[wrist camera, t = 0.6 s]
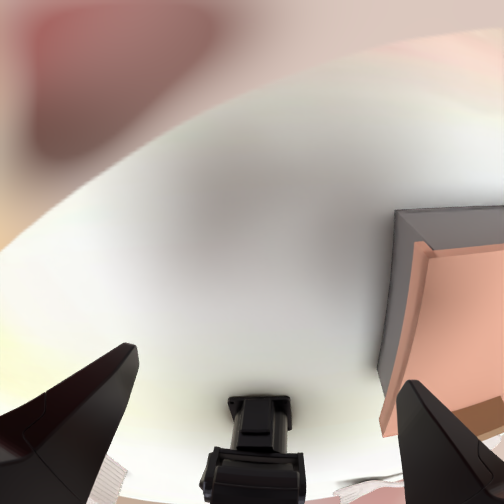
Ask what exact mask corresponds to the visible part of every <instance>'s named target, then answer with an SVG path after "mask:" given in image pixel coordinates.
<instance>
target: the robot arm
mask: <svg viewBox="0 0 504 504" xmlns="http://www.w3.org/2000/svg"><path fill="white" fill-rule="evenodd" d="M138 369H139V358H138V351H137V347H136V345H134V344H130V343H122V344H121V345H119V346H118V347H116V348H114V349H113V350H111V351H110V352H108V353H106V354H105V355H103V356H102V357H100V358H99V359H97V360H95V361H94V362H92V363H91V364H89V365H87V366H86V367H84V368H83V369H81V370H79V371H78V372H76V373H75V374H73V375H71V376H70V377H68V378H67V379H65V380H63V381H62V382H60V383H59V384H57V385H55V386H54V387H52V388H51V389H49V390H47V391H46V393H45V392H44V393H42V394H41V395H39V396H38V397H36V398H34V399H33V400H31V401H29V402H27V403H26V404H24V405H22V406H20V407H18V408H16V409H14V410H12V411H10V412H8V413H5V414H3V415H1V416H0V504H86V503H87V501H88V498H89V495H90V493H91V490H92V488H93V485H94V483H95V480H96V478H97V475H98V473H99V470H100V468H101V466H102V463H103V461H104V458H105V456H106V454H107V451H108V449H109V446H110V444H111V442H112V439H113V437H114V435H115V432H116V430H117V428H118V426H119V423H120V421H121V419H122V416H123V414H124V412H125V409H126V407H127V404H128V401H129V398H130V395H131V391H132V388H133V385H134V382H135V378H136V375H137V372H138ZM228 405H229V408H230V411H231V415H232V418H233V421H234V428H233V434H232V441H231V447H230V449H224V448H220V447H214V451H213V452H212V453H209V456H208V461H207V465H206V468H205V471H204V473H203V475H202V478H201V480H200V483H199V487H200V488H201V489H202V490H203V494H204V500H205V502H209V503H210V504H304V503H305V497H306V476H305V466H304V457H303V453H287V431H290V430H292V418H291V404H290V398H289V397H286V396H284V397H248V398H234V397H232V398H229V399H228ZM396 410H397V428H398V441H399V448H400V455H401V462H402V470H403V479H404V488H405V499H406V504H504V462H503V461H502V460H501V459H500V458H499V457H498V456H497V455H495V454H494V453H493V452H492V451H491V450H490V449H489V448H488V447H487V446H486V445H485V444H484V443H483V442H482V441H481V440H480V439H478V437H477V436H476V435H475V434H474V433H473V432H471V431H470V430H469V429H468V428H467V427H466V426H465V425H464V424H463V423H462V422H461V421H460V420H459V419H458V418H457V417H456V416H455V415H454V414H453V413H452V412H451V411H450V410H449V409H448V408H447V407H446V406H445V405H444V404H443V403H442V402H441V401H440V400H439V399H438V398H437V397H436V396H434V395H433V394H432V393H431V392H430V391H429V390H428V389H427V388H426V387H425V386H424V385H423V384H422V383H421V382H420V381H419V380H407V381H406V382H405V383H404V385H403V386H402V388H401V390H400V391H399V393H398V394H397V397H396Z"/></svg>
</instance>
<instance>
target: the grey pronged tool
mask: <svg viewBox="0 0 504 504" xmlns="http://www.w3.org/2000/svg"><path fill="white" fill-rule="evenodd" d="M500 441H501V436H500V435H496V436H494V437H492V438H489V439H487V440H484V441H482V442H483V443H484V444H485V445H486V446H487V447H488V448H489V449H490V450H492V449H493V448H494V447H496V446H497V445H498V444H499V443H500ZM380 487H404V481H403V482H388V481H381V480H370V481H365V482H362V483H359V484H355V485H351V486H348V487H345V488H342V489H339V490H336V491H334V492H333V495H337V496H339V497H341V498H340V500H341V501H340V502H341V503H340V504H348V503H350V502H352V501H354V500H355V499H357V498H359V497H361V496H363V495H365V494H368V493H370V492H372V491H374V490H375V489H377V488H380Z"/></svg>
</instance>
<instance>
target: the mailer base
mask: <svg viewBox="0 0 504 504" xmlns="http://www.w3.org/2000/svg"><path fill="white" fill-rule="evenodd" d="M419 241H424V242H425V243H426V244H427V245H428V246H429V247H430V248H431V249H432V250H444V249H454V248H464V247H474V246H484V245H493V244H503V243H504V206H476V207H449V208H427V209H407V210H395V222H394V241H393V256H392V268H391V278H390V288H389V296H388V304H387V312H386V319H385V326H384V332H383V338H382V344H381V350H380V356H379V361H378V366H377V371H378V375H379V378H380V382H381V386H382V389H383V393H384V397H386V394H387V390H388V387H389V383H390V379H391V375H392V371H393V367H394V363H395V359H396V355H397V350H398V346H399V341H400V336H401V331H402V326H403V321H404V315H405V310H406V304H407V298H408V291H409V284H410V277H411V269H412V260H413V251H414V242H419Z"/></svg>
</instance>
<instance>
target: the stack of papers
mask: <svg viewBox="0 0 504 504" xmlns="http://www.w3.org/2000/svg"><path fill="white" fill-rule="evenodd" d="M125 473H127V470H126V469H125V468H123V467H122V466H121V465H120V464H118V463H117V462H116V461H114V460H113V459H112V458H111V457H109V456H108V455H107V454H106V456H105V458H104V461H103V463H102V466H101V468H100V470H99V473H98V475H97V478H96V480H95V483H94V485H93V488H92V490H91V493H90V495H89V498H88V501H87V503H86V504H115V503H116V502H117V499H118V496H119V492H120V490H121V489H120V488H121V487H122V485H121V484H123V480H124V479H125V478H124V477H125V476H126V474H125Z"/></svg>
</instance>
